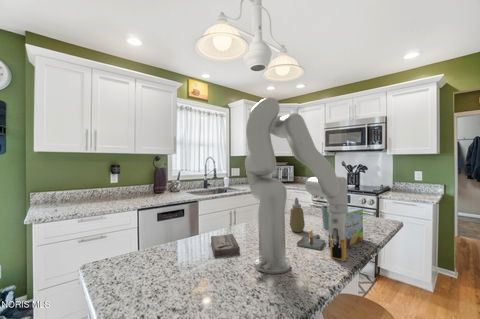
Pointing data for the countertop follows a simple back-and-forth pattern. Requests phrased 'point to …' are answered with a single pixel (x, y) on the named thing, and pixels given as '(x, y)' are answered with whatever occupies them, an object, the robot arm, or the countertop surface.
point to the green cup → (325, 217)
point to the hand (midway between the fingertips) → (338, 253)
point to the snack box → (352, 226)
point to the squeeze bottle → (297, 217)
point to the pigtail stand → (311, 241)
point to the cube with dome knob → (343, 249)
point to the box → (224, 245)
